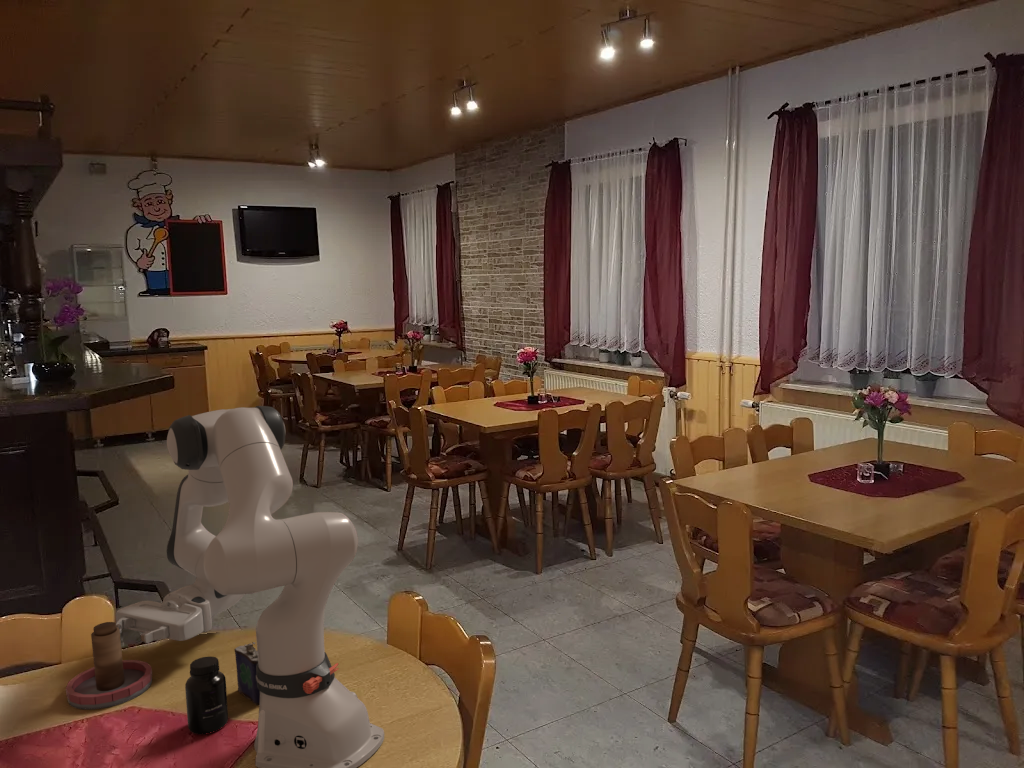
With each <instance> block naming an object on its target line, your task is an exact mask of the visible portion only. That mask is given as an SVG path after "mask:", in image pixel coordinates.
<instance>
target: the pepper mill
mask: <svg viewBox="0 0 1024 768" xmlns="http://www.w3.org/2000/svg"><path fill="white" fill-rule="evenodd" d="M116 623H117V622H114V621H106V622H101V623H99V624H96V625H94V627H93V629H92V630H93V632H91V633H90V637H91V647H92V656H93V658H92V659H93V667H94V669H95V679H96V689H97V690H99V691H109V690H113V689H116V688H118V687H120V686H122V685H123V684H124V682H125V681H124V671H123V660H124V659H123V653H122V652H123V651H122V641H121V633H120V629H119V628H118V627H116Z"/></svg>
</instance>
